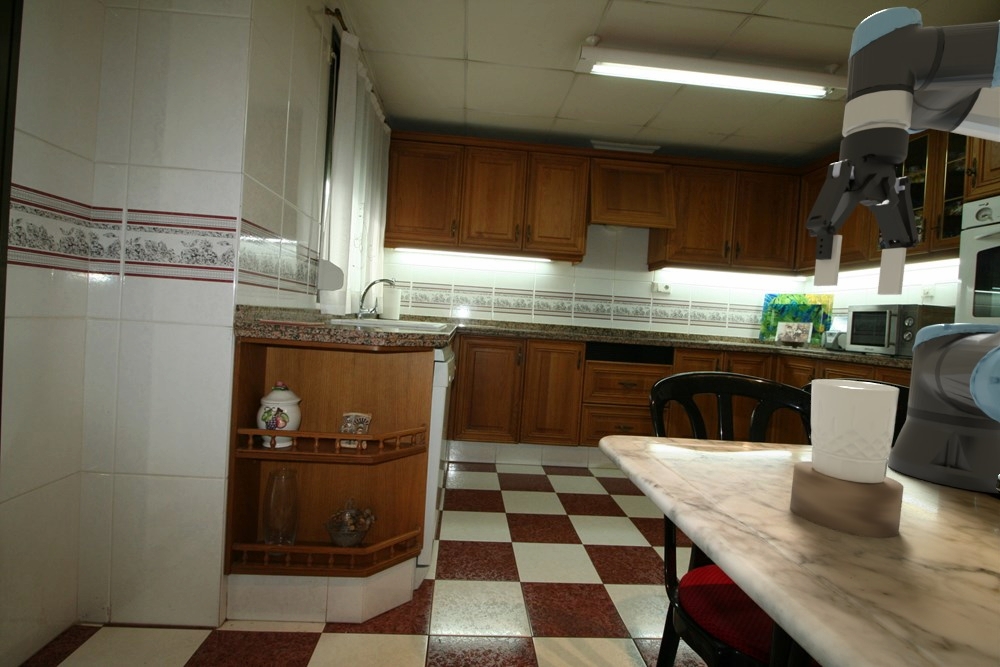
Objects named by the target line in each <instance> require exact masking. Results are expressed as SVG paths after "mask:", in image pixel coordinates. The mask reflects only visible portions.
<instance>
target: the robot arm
mask: <svg viewBox="0 0 1000 667" xmlns="http://www.w3.org/2000/svg"><path fill="white" fill-rule="evenodd" d="M923 23H924V22H923V21H922V13H921V12H920V11H919V10H918V9H917V8H908V7H907V6H897V7H890V8H887V9H883V10H880V11H877V12H875V13H873V14H872V15H870V16H868V17H867V18H865V19H863V20H862V21H861V22H860V23H859V24H858V25H857V26H856V28H855V29H854V32H853V33H852V39H851V40H852V41H851V47H850V51H849V57H848V59H847V63H848V69H847V80H846V81H847V82H846V92H845V94H846V95H845V96H846V97H845V103H844V104H845V105H844V114H843V124H842V130H841V134H842V137H843V138H842V140H841V141H840V146H839V147H840V149H839V158H838V159H839V160H838V162H833V163H830V164H829V165H828V168H827V173H826V179H825V181H824V183H823V185H822V188H821V190H820V191H819V193H818V196H817V198H816V200H815V202H814V204H813V206H812V209H811V211H810V212H809V214H808V217H807V219H806V221H805V225H804V226H805V228H806V229H807V230H808V235H809V236H810V237H816V246H815V268H814V277H813V278H814V279H813V286H816V287H831V286H834V287H836V286H838V281H839V280H838V279H839V272H840V263H841V262H840V261H841V251H842V244H843V243H842V242H843V235H841V234H837V233H838V232H839V231H840V230H841V228H842V227H843V225H844V224H845V223H846V222H847V220H848V219H849V217H850V216H851V215H852V213H853V212H854V211H855V209H856V208H857V206H858V205H859V204H861V205H862V206H865V207H867V210H868V211H870V212H872V213H873V214H874V217H875V220H876V222H877V225H878V228H879V230H880V232H881V236H882V238H883V242H884V244H885V246H886V248H883V249H882V251H881V258H880V269H879V277H878V284H877V285H878V287H877V295H880V296H882V295H883V296H884V295H886V296H887V295H888V296H889V295H890V296H891V295H896V296H897V295H900V296H901V295H902V293H903V292H902V291H903V282H904V275H905V266H906V265H905V264H906V256H907V255H906V254H907V249H915V248H916V247H917V246H918V244H919V240H920V239H919V234H918V230H917V225H916V218H915V212H914V207H913V203H912V196H911V177H910V176H902V177H897V176H896V170H895V169H896V167H897V166H898V165H900V164H901V163H903V162H905V160H906V159H907V157H908V151H909V140H910V135H911V134H912V135H913V134H918V133H921V132H923V131H925V130H929V129H931V130H936V131H937V130H938V131H943V132H949V133H954V134H959V135H964V136H968V137H972V138H973V137H974V138H979V139H983V140H987V141H992V142H998V143H1000V19H999V20H995V21H984V22H976V23H975V22H974V23H973V22H972V23H965V24H964V23H963V24H955V25H954V24H953V25H945V26H933V25H932V26H923V25H924V24H923ZM911 361H912V362H911V371H910V372H911V373H910V382H909V391H908V401H907V411H906V420H905V422H904V424H903V426H902V428H901V430H900V432H899V434H898V436H897V439H895V440H896V441H895V443H894V446H893V447H891V451H890V456H889V457H888V458H887V459H888V464H887V467H889V468H891V469H893V470H895V471H897V472H898V473H902V474H904V475H907V476H911V477H914V478H916V479H920V480H923V481H927V482H932V483H935V484H941V485H945V486H950V487H953V488H959V489H965V490H969V491H977V492H983V493H989V494H990V493H992V494H1000V493H999V492H998V490H997V489H996V484H997V480H998V475H999V474H1000V324H995V323H994V324H993V323H978V322H977V323H976V322H974V323H972V322H971V323H970V322H962V323H961V322H960V323H956V322H955V323H941V324H940V323H939V324H932V325H927V326H924V327H922V328H921V329H919V330H918V331H917V333H916V334H915V340H914V345H913V346H912V360H911Z"/></svg>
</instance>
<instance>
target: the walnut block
mask: <svg viewBox="0 0 1000 667" xmlns="http://www.w3.org/2000/svg"><path fill="white" fill-rule="evenodd" d="M792 471H793V472H792V473H793V474H792V482H791V484H792V485H791V493H790V502H789V508H790V510H791V511H792V512H793V513H794V514H795V515H797V516H798V517H801V518H802V519H805V521H808V522H810V523H812V524H815V525H818V526H820V527H822V528H827V529H830V530H833V531H836V532H840V533H844V534H848V535H853V536H858V537H865V538H873V539H875V538H876V539H888V538H889V539H890V538H894V537H896V536H898V535H899V532H900V525H901V523H900V522H901V517H902V513H901V512H902V506H903V497H904V496H903V495H904V488H905V487H904V485H903V484H902V483H901V482H900V481H898V480H895V479H893V478H891V477H888V476H886V478H885V480H884V481H883V482H880V483H860V482H853V481H847V480H842V479H837V478H834V477H830V476H827V475H824V474H822V473H819V472H817V471H815V470H814V469H813V467H812V460H811V461H810V460H808V461H807V460H806V461H798V462H795V463H794V464H793V470H792Z"/></svg>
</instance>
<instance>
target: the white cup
mask: <svg viewBox="0 0 1000 667" xmlns="http://www.w3.org/2000/svg"><path fill="white" fill-rule="evenodd" d="M899 394H900V388H898V387H895V386H891V385H887V384H882V383H881V384H880V383H874V382H867V381H860V380H859V381H857V380H848V379H847V380H845V379H832V378H829V379H828V378H826V379H825V378H822V379H821V378H818V379H813V380H811V396H810V397H811V400H810V403H811V404H810V429H811V432H810V433H811V434H810V439H811V440H810V441H811V446H812V447H811V461H812V467H813V469H814V470H815V471H817V472H819V473H822V474H824V475H827V476H830V477H834V478H837V479H842V480H847V481H853V482H860V483H880V482H883V481H884V480H885V478H886V477H887V472H888V471H887V470H888V457H889V456H890V451H891V448H892V444H893V438H894V433H895V426H896V425H895V424H896V418H897V417H896V416H897V408H898V401H899Z"/></svg>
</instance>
